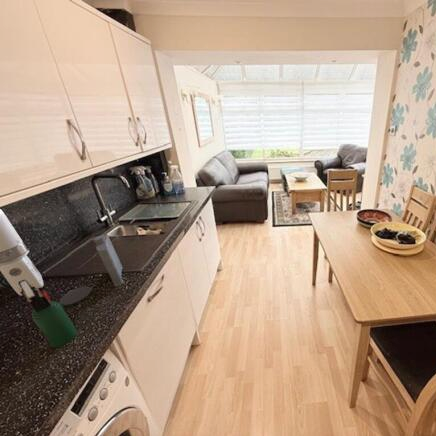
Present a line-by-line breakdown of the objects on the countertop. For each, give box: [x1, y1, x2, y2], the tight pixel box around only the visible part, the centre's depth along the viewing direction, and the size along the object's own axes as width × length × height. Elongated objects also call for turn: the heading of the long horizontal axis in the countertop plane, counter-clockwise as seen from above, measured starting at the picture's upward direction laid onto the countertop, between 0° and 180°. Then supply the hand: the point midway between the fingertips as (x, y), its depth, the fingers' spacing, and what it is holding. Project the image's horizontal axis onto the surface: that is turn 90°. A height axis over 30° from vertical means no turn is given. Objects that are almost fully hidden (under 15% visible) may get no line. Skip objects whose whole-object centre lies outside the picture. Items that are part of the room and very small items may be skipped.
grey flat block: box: [92, 233, 125, 288], centre depth 100 cm, size 16×4×20 cm, turn 35°
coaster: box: [59, 286, 93, 307], centre depth 94 cm, size 10×10×1 cm
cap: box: [26, 290, 51, 309], centre depth 69 cm, size 4×4×3 cm
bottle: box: [31, 300, 78, 348], centre depth 73 cm, size 6×6×18 cm
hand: (42, 304), depth 70 cm, fingers closed on cap, 3 cm apart
